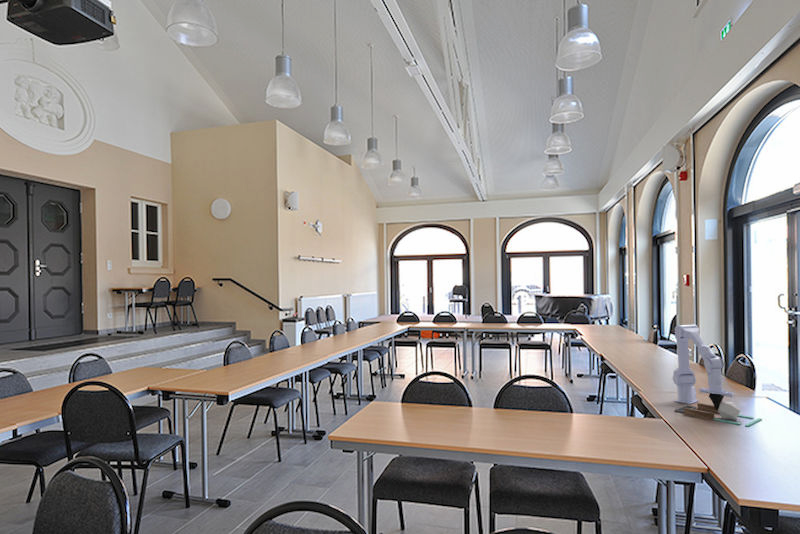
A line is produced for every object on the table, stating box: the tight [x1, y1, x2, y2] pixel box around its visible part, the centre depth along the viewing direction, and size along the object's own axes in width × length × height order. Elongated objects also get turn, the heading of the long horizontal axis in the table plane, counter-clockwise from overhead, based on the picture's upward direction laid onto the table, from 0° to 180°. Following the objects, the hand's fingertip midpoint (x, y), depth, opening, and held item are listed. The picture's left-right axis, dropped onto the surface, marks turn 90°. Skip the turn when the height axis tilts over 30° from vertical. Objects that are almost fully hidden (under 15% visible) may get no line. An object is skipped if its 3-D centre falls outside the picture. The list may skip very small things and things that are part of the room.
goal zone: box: [712, 414, 763, 428], centre depth 216 cm, size 15×14×1 cm
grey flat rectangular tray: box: [674, 404, 698, 414], centre depth 236 cm, size 12×5×1 cm, turn 122°
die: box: [718, 401, 741, 421], centre depth 219 cm, size 8×9×10 cm
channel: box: [684, 402, 720, 421], centre depth 228 cm, size 15×13×3 cm
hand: (717, 409), depth 223 cm, fingers closed
